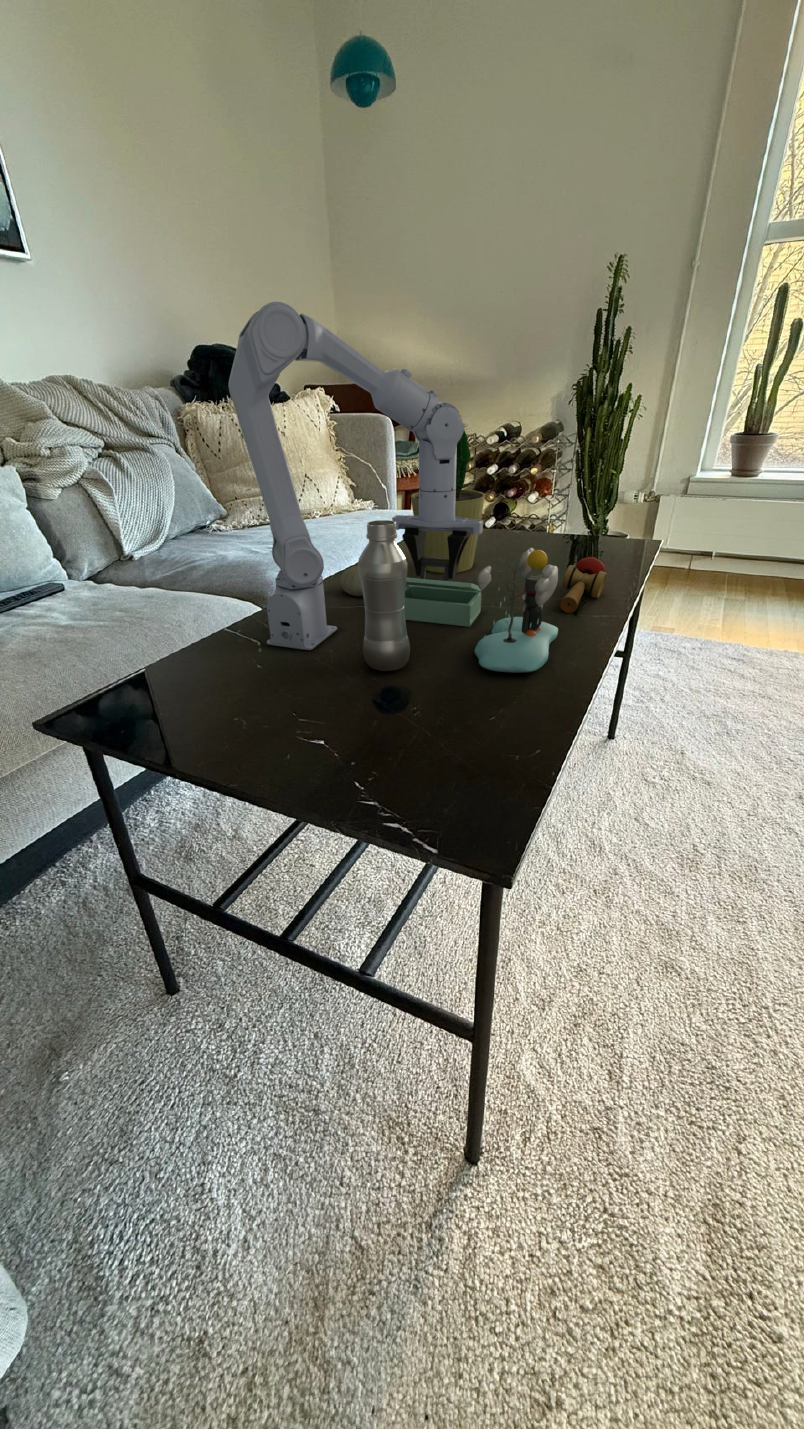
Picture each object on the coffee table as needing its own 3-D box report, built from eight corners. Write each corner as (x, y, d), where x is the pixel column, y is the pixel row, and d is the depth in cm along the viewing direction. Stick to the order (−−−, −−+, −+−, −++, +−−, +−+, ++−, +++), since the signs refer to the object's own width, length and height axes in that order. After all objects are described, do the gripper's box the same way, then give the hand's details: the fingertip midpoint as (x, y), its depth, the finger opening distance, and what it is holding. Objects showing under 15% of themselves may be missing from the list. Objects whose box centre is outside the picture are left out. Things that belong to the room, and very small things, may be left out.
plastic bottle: (405, 678, 82) (402, 529, 72) (358, 675, 83) (348, 528, 73) (414, 659, 87) (412, 518, 77) (369, 656, 88) (362, 517, 79)
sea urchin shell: (392, 588, 110) (360, 558, 108) (364, 617, 113) (332, 589, 111) (394, 574, 118) (364, 546, 116) (367, 601, 121) (337, 574, 119)
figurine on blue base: (501, 624, 99) (507, 531, 91) (566, 633, 95) (578, 536, 87) (460, 672, 83) (464, 564, 75) (536, 685, 79) (548, 572, 72)
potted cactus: (493, 561, 132) (502, 410, 118) (462, 579, 121) (467, 414, 106) (433, 553, 140) (434, 410, 125) (398, 569, 128) (394, 414, 114)
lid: (470, 587, 95) (474, 560, 94) (392, 580, 99) (395, 554, 98) (481, 591, 102) (484, 566, 101) (408, 584, 106) (410, 560, 106)
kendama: (594, 623, 102) (614, 580, 114) (591, 589, 98) (612, 549, 111) (549, 624, 106) (574, 583, 118) (545, 591, 102) (571, 552, 115)
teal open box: (469, 627, 98) (470, 605, 96) (393, 618, 102) (393, 597, 100) (480, 612, 104) (481, 591, 102) (408, 604, 108) (408, 585, 106)
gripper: (489, 487, 93) (484, 573, 100) (402, 483, 98) (403, 566, 104) (478, 494, 87) (474, 585, 94) (386, 490, 92) (388, 577, 98)
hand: (436, 576), depth 99 cm, fingers closed on lid, 5 cm apart
